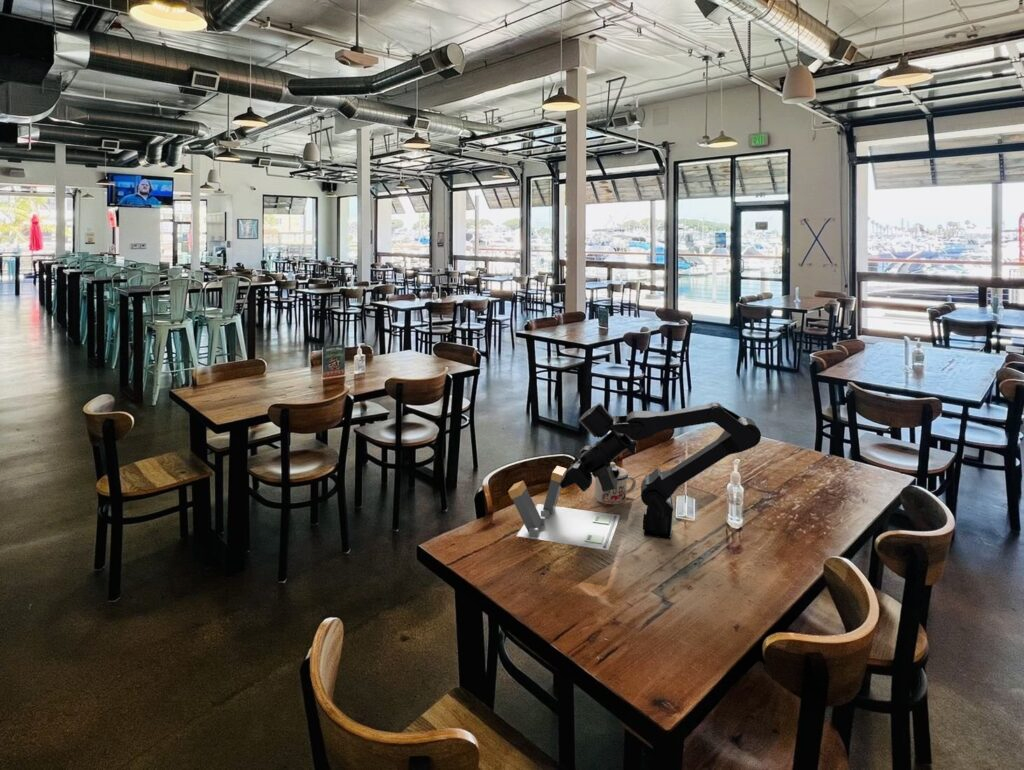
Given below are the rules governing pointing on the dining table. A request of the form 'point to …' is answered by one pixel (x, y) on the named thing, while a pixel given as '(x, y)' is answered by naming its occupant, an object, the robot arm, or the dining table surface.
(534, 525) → the block
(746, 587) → the dining table surface
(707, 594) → the dining table surface
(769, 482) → the dining table surface
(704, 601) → the dining table surface
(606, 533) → the switch unit
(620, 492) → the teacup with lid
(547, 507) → the rocker
